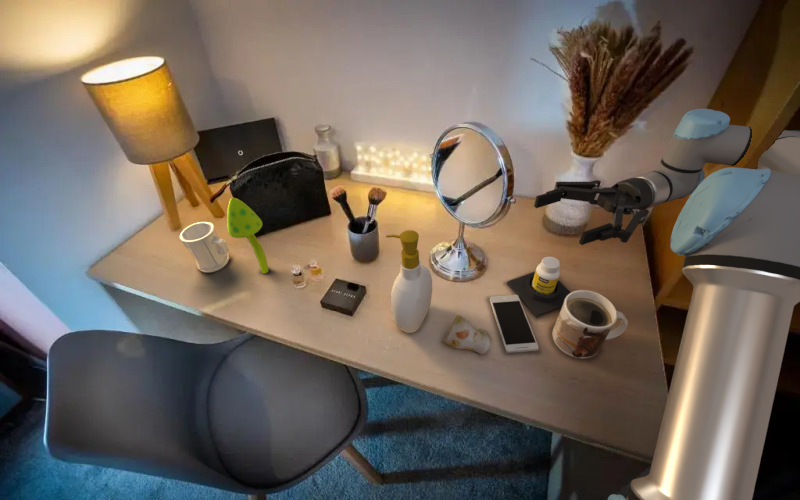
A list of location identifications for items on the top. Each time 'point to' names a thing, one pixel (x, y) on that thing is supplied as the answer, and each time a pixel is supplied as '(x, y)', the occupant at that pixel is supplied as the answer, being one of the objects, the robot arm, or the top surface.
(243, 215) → the mushroom
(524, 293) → the dock pad
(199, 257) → the cup
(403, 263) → the soap bottle
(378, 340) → the top surface
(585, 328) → the mug
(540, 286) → the supplement bottle
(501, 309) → the smartphone
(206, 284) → the top surface
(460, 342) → the patterned beanbag
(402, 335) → the top surface
